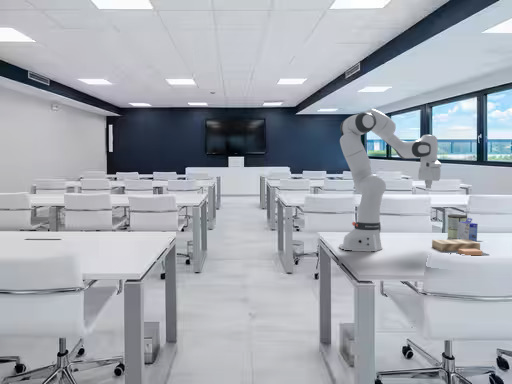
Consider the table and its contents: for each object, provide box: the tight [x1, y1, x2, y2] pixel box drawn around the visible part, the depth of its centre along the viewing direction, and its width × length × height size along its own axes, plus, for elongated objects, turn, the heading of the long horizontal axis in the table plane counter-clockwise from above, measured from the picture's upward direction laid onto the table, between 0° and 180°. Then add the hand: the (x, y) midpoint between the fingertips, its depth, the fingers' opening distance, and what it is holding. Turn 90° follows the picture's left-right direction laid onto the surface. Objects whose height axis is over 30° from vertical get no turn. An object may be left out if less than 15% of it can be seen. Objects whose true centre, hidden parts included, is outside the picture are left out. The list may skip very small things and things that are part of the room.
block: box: [458, 249, 483, 256], centre depth 207 cm, size 9×6×2 cm, turn 92°
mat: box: [443, 251, 490, 256], centre depth 210 cm, size 18×10×1 cm, turn 92°
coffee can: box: [447, 213, 468, 240], centre depth 250 cm, size 10×10×14 cm
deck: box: [431, 239, 481, 252], centre depth 221 cm, size 20×11×4 cm, turn 92°
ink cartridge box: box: [457, 217, 478, 242], centre depth 233 cm, size 10×6×14 cm, turn 11°
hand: (428, 188), depth 237 cm, fingers closed
